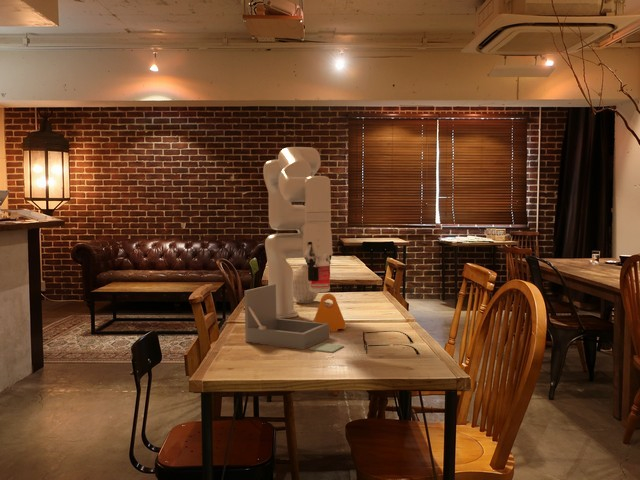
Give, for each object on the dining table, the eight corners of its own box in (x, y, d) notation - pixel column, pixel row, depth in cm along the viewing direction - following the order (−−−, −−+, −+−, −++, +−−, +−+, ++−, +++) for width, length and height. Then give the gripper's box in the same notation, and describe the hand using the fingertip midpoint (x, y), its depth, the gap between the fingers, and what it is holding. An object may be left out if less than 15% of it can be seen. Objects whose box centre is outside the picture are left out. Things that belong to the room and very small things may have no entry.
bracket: (344, 326, 187) (343, 292, 186) (345, 331, 180) (344, 295, 179) (313, 327, 187) (312, 292, 186) (313, 331, 180) (312, 296, 179)
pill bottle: (333, 291, 158) (333, 253, 157) (316, 293, 154) (315, 255, 154) (322, 289, 163) (321, 252, 162) (305, 290, 160) (304, 253, 159)
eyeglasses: (361, 342, 165) (361, 329, 165) (413, 342, 165) (413, 329, 165) (364, 357, 149) (364, 343, 149) (421, 357, 148) (421, 343, 148)
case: (245, 342, 167) (244, 290, 166) (274, 331, 181) (273, 284, 180) (303, 349, 157) (302, 295, 156) (329, 337, 171) (328, 287, 170)
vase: (302, 298, 245) (301, 262, 244) (325, 301, 238) (324, 263, 237) (284, 303, 235) (283, 265, 234) (308, 305, 228) (307, 266, 227)
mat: (309, 349, 156) (309, 348, 156) (321, 344, 163) (321, 342, 163) (332, 352, 153) (332, 351, 153) (344, 346, 159) (344, 345, 159)
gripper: (321, 218, 167) (322, 275, 168) (291, 219, 152) (292, 282, 153) (343, 217, 163) (343, 276, 164) (314, 218, 148) (315, 283, 149)
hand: (319, 278), depth 158 cm, fingers closed on pill bottle, 6 cm apart
